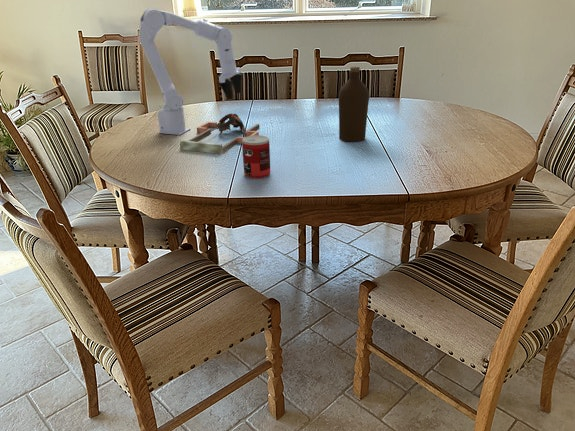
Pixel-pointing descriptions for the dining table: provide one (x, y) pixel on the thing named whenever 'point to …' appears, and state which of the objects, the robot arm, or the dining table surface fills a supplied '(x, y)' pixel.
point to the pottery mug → (231, 122)
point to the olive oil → (353, 108)
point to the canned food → (256, 156)
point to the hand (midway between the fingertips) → (234, 95)
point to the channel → (209, 147)
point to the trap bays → (214, 125)
